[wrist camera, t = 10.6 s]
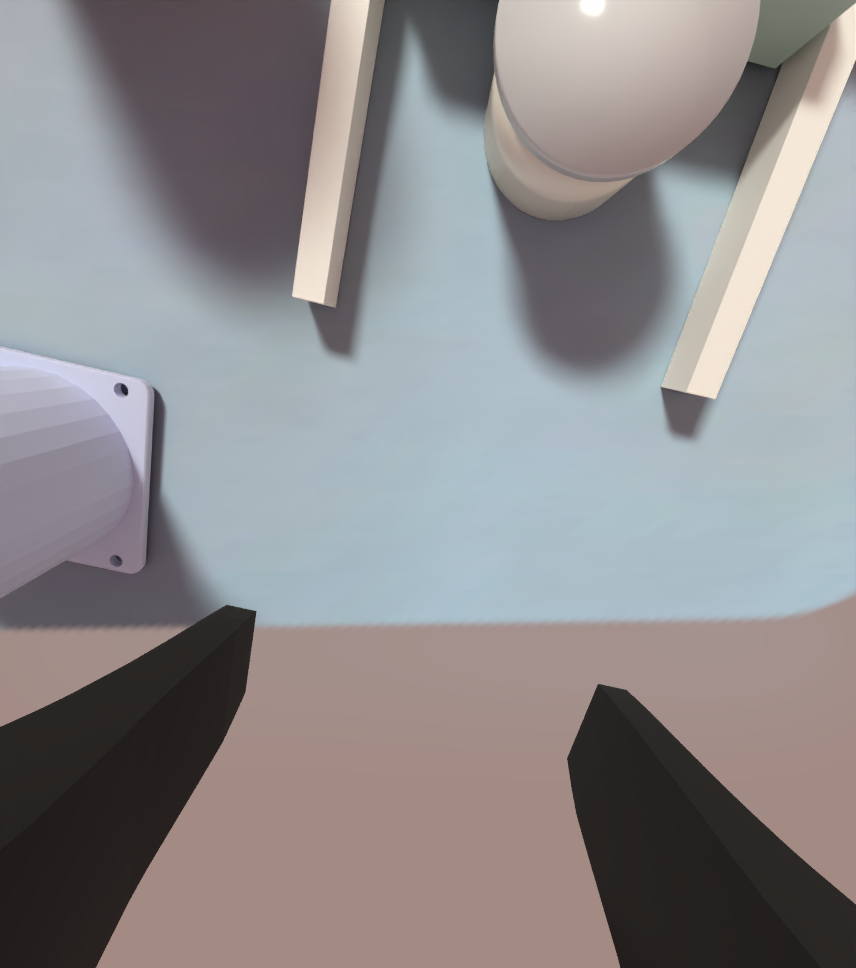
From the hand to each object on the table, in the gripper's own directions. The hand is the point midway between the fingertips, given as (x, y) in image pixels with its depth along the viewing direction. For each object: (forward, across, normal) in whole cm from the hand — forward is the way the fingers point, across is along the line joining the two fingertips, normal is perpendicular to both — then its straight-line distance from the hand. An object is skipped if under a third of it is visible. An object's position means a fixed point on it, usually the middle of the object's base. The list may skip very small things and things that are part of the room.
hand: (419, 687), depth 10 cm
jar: (+10, -1, -14) cm, 17 cm away
